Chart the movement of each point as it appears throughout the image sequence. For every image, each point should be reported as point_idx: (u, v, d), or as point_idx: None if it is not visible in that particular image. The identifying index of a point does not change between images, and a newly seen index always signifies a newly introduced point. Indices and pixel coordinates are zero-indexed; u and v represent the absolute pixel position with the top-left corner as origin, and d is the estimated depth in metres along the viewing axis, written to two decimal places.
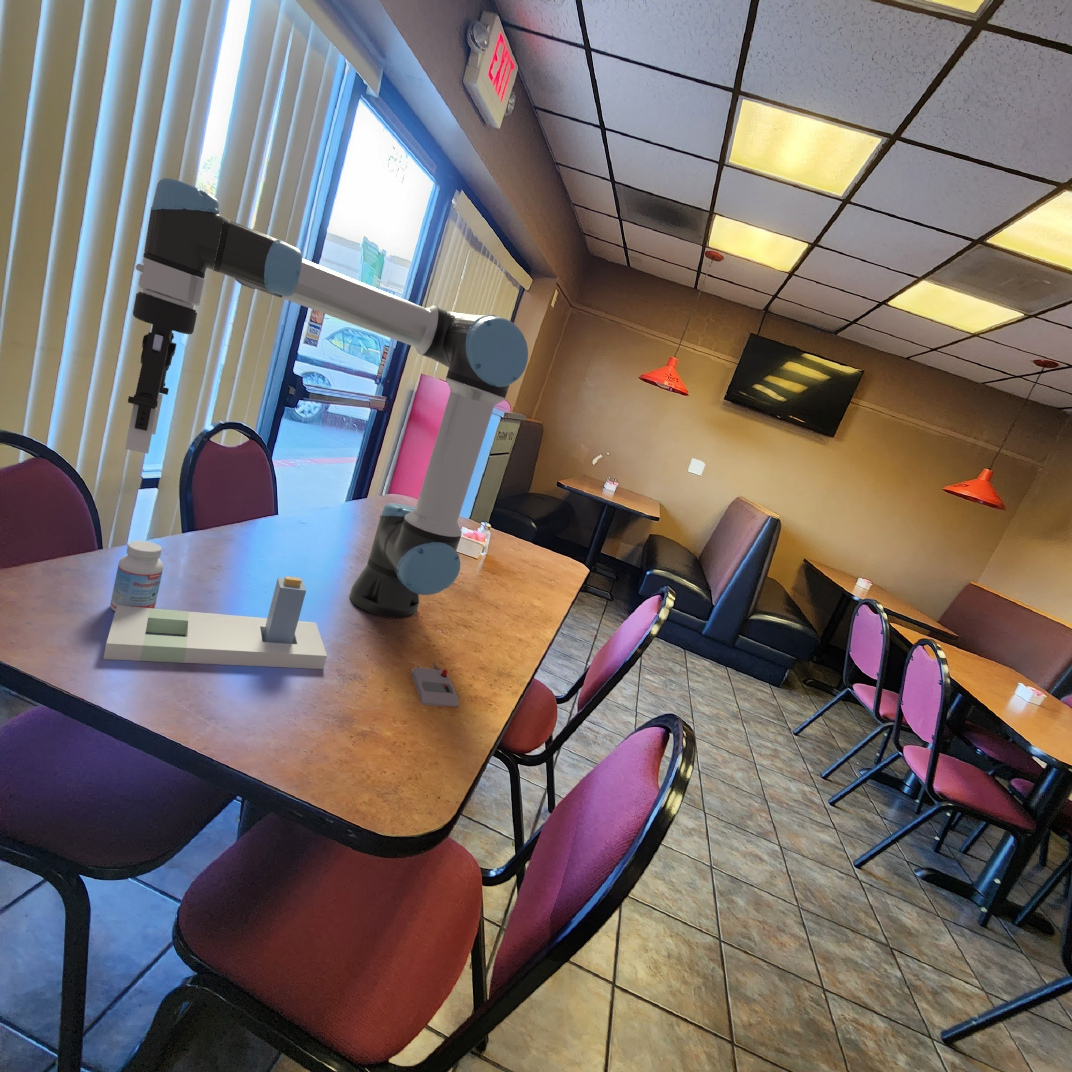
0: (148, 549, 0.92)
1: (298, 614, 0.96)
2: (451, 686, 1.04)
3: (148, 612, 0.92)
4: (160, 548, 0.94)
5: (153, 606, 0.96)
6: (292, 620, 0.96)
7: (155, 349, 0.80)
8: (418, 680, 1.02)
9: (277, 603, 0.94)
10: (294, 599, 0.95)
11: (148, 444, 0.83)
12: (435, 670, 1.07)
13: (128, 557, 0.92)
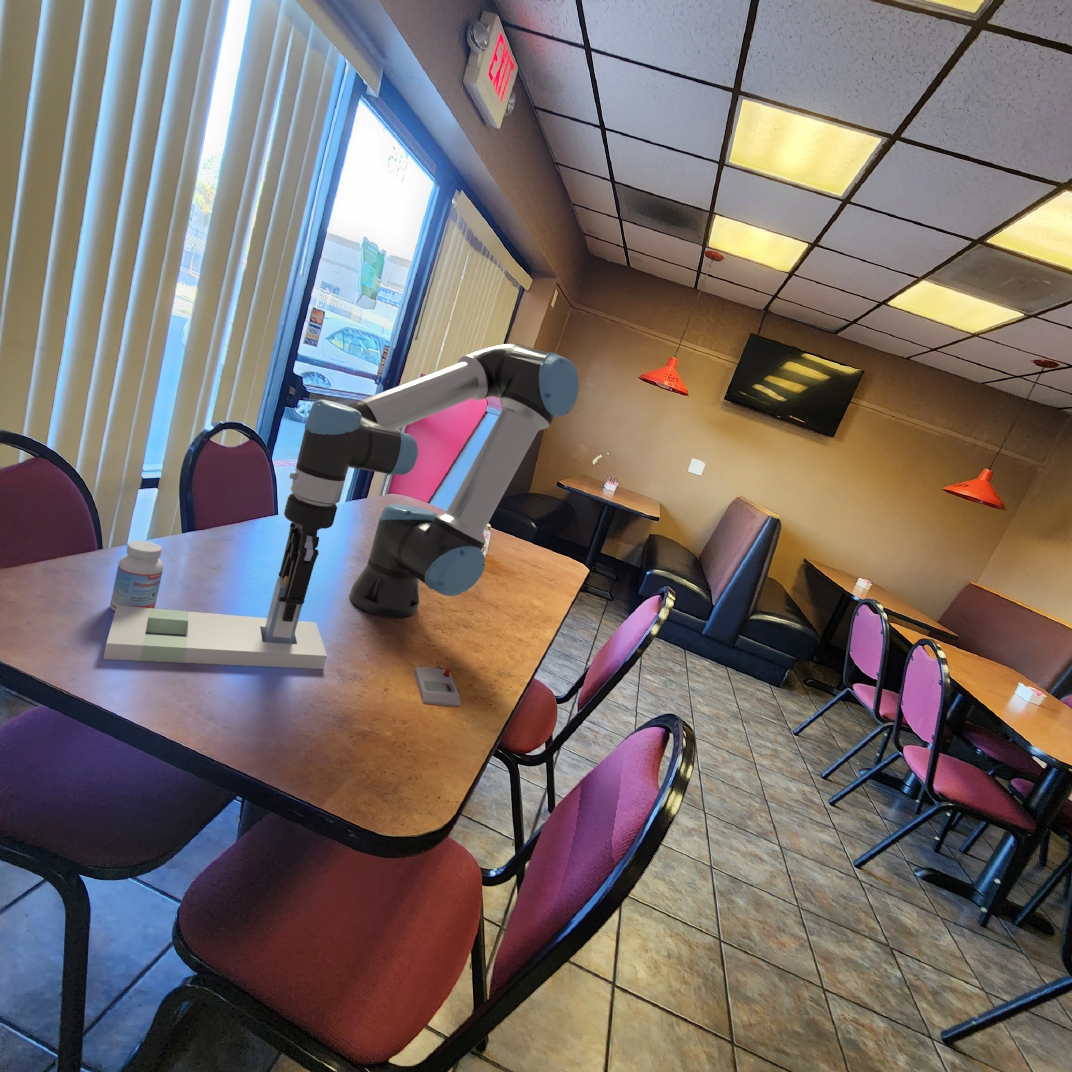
0: (148, 549, 0.92)
1: (298, 614, 0.96)
2: (453, 685, 1.04)
3: (148, 612, 0.92)
4: (160, 548, 0.94)
5: (153, 606, 0.96)
6: None
7: (305, 560, 0.90)
8: (420, 679, 1.02)
9: (277, 603, 0.94)
10: None
11: (291, 630, 0.96)
12: (438, 670, 1.08)
13: (128, 557, 0.92)
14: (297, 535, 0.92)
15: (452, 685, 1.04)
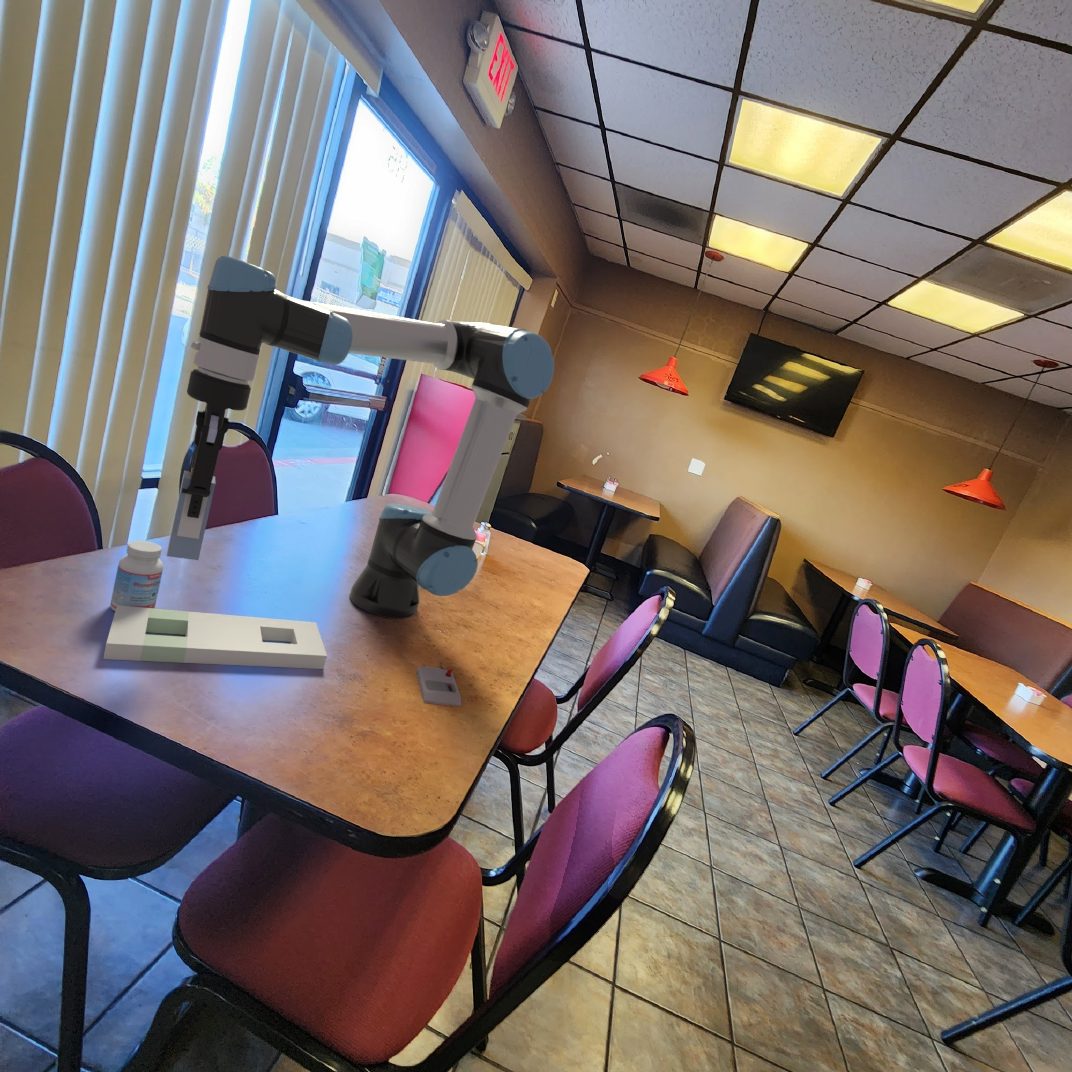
0: (148, 549, 0.92)
1: (207, 511, 0.85)
2: (454, 685, 1.04)
3: (148, 612, 0.92)
4: (160, 548, 0.94)
5: (153, 606, 0.96)
6: None
7: (209, 442, 0.78)
8: (422, 679, 1.03)
9: (181, 496, 0.82)
10: None
11: (199, 530, 0.84)
12: (440, 669, 1.08)
13: (128, 557, 0.92)
14: (202, 416, 0.81)
15: (454, 685, 1.04)
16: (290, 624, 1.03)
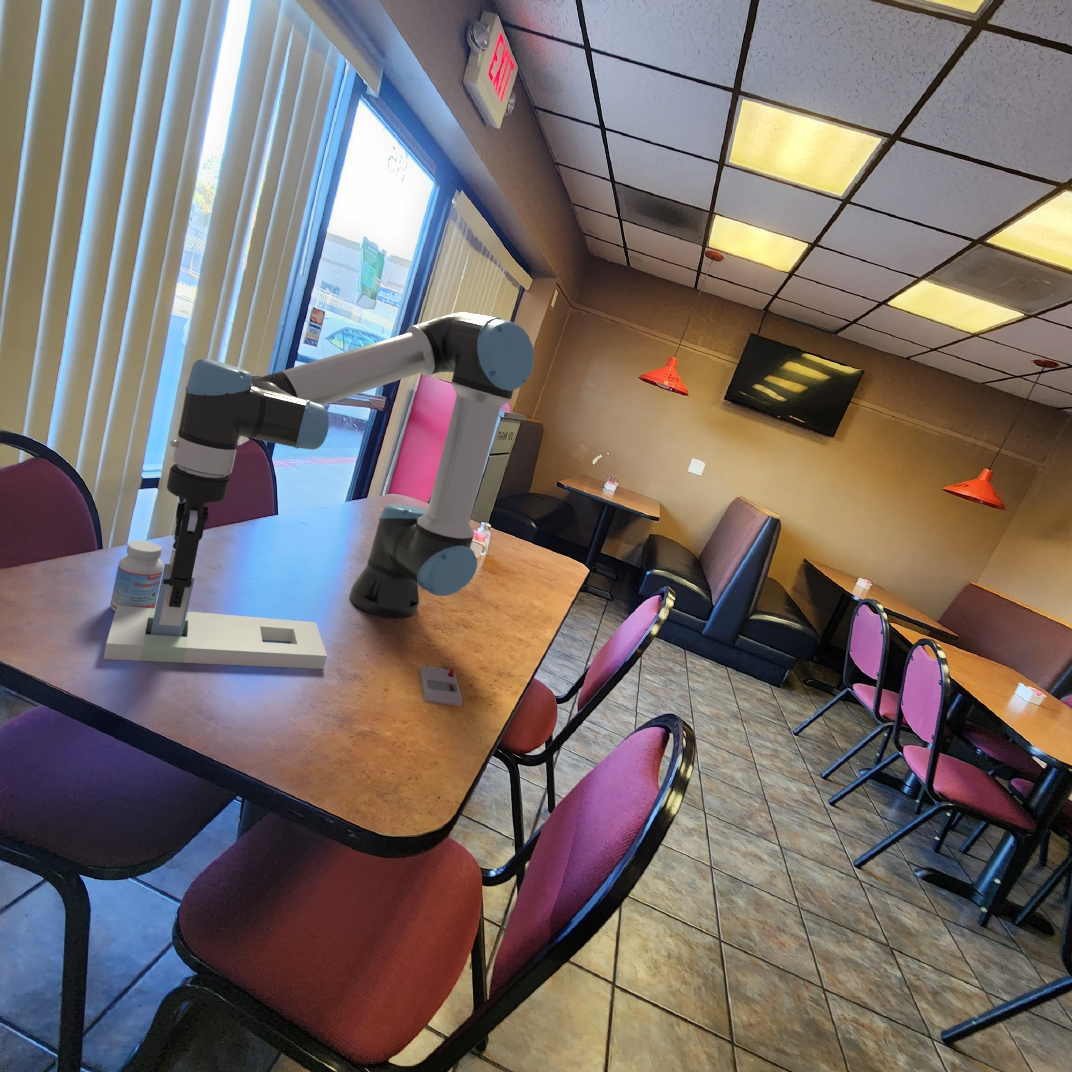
0: (148, 549, 0.92)
1: (187, 604, 0.88)
2: (456, 685, 1.04)
3: (148, 612, 0.92)
4: (160, 548, 0.94)
5: (153, 606, 0.96)
6: None
7: (190, 530, 0.80)
8: (424, 678, 1.03)
9: (161, 591, 0.85)
10: None
11: (181, 617, 0.84)
12: (443, 669, 1.08)
13: (128, 557, 0.92)
14: (182, 508, 0.83)
15: (455, 685, 1.04)
16: (290, 624, 1.03)
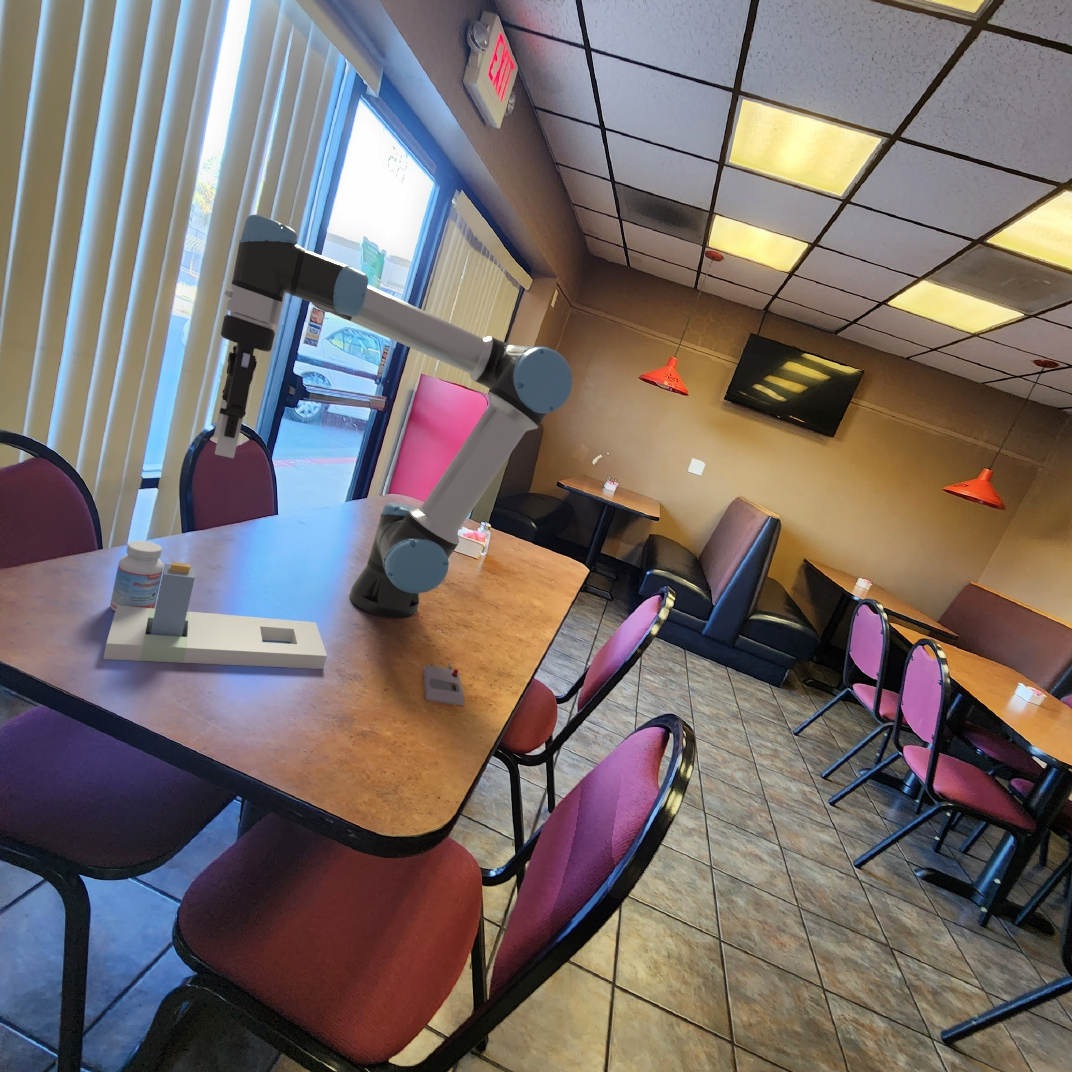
0: (148, 549, 0.92)
1: (187, 604, 0.88)
2: (459, 685, 1.05)
3: (148, 612, 0.92)
4: (160, 548, 0.94)
5: (153, 606, 0.96)
6: (180, 610, 0.88)
7: (243, 366, 0.90)
8: (427, 677, 1.04)
9: (161, 591, 0.85)
10: (181, 586, 0.87)
11: (234, 450, 0.93)
12: (447, 669, 1.09)
13: (128, 557, 0.92)
14: (234, 354, 0.93)
15: (458, 685, 1.05)
16: (290, 624, 1.03)
